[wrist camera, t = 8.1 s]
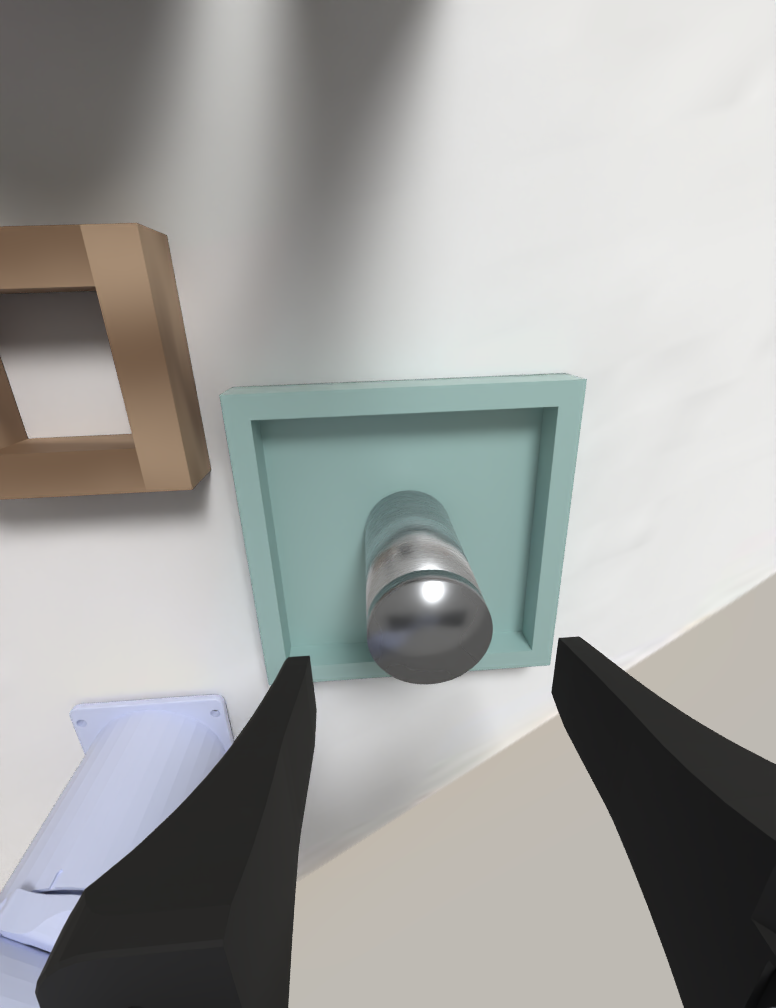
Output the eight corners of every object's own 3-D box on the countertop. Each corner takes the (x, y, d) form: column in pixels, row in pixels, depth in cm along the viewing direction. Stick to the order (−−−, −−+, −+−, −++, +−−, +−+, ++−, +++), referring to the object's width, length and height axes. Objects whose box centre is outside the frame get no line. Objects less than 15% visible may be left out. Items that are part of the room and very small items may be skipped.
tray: (535, 639, 25) (549, 665, 23) (275, 657, 24) (268, 685, 23) (565, 373, 20) (586, 379, 18) (232, 387, 19) (219, 395, 17)
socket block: (211, 469, 20) (192, 489, 18) (-1, 480, 20) (-48, 502, 18) (166, 235, 17) (136, 223, 15) (-91, 242, 16) (-163, 230, 14)
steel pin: (453, 561, 22) (495, 674, 15) (371, 573, 22) (376, 692, 15) (447, 484, 21) (490, 572, 14) (358, 497, 21) (357, 591, 14)
